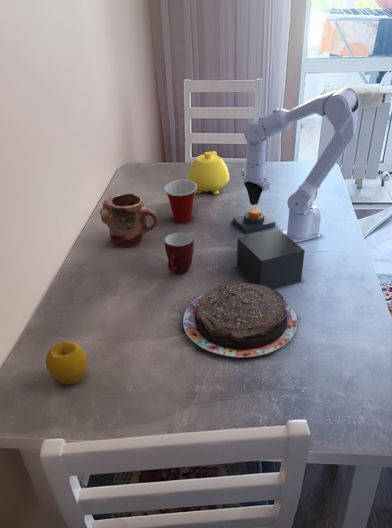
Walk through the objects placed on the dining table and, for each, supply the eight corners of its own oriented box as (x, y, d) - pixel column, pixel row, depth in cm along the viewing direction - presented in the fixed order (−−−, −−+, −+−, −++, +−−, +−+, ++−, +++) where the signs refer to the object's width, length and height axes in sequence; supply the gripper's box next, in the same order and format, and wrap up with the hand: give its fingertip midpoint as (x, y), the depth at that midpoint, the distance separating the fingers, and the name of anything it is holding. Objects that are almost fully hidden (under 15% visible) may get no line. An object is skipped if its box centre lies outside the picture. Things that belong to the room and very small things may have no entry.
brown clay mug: (168, 235, 156) (165, 195, 147) (154, 254, 146) (150, 211, 138) (111, 229, 161) (105, 189, 152) (95, 246, 151) (87, 205, 143)
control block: (261, 215, 165) (262, 206, 163) (275, 226, 158) (275, 216, 156) (233, 222, 162) (233, 212, 159) (245, 233, 155) (245, 223, 153)
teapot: (195, 175, 196) (194, 141, 187) (233, 177, 193) (234, 143, 184) (184, 195, 180) (182, 159, 172) (225, 198, 177) (225, 161, 169)
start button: (256, 212, 160) (256, 207, 159) (261, 217, 157) (262, 212, 156) (246, 214, 159) (247, 210, 158) (251, 219, 156) (252, 214, 155)
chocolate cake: (164, 346, 112) (162, 324, 108) (204, 283, 133) (204, 262, 129) (283, 372, 104) (286, 349, 100) (306, 301, 125) (309, 279, 121)
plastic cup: (161, 224, 162) (158, 190, 155) (174, 210, 170) (172, 178, 163) (191, 229, 159) (189, 194, 152) (203, 215, 167) (202, 181, 159)
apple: (55, 365, 108) (46, 335, 103) (93, 363, 108) (86, 333, 103) (47, 393, 101) (38, 362, 96) (88, 391, 102) (80, 360, 96)
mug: (187, 284, 133) (186, 252, 127) (160, 280, 135) (157, 249, 129) (198, 264, 141) (197, 233, 135) (172, 261, 143) (169, 231, 137)
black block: (236, 268, 139) (237, 237, 133) (275, 258, 142) (277, 228, 136) (259, 292, 128) (261, 261, 122) (301, 281, 132) (304, 250, 126)
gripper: (233, 156, 150) (232, 197, 159) (255, 172, 140) (253, 215, 148) (253, 153, 153) (251, 193, 161) (276, 168, 142) (273, 210, 150)
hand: (254, 203), depth 155 cm, fingers closed
